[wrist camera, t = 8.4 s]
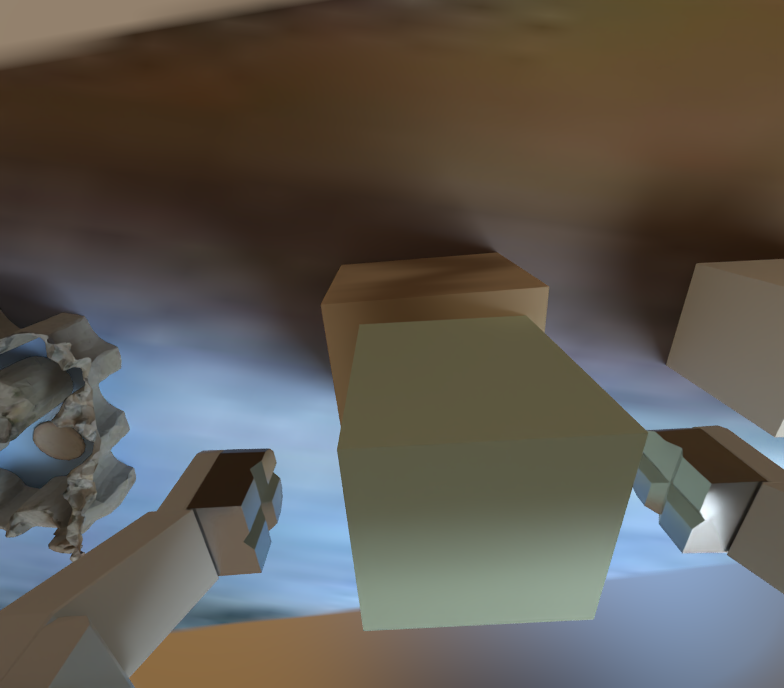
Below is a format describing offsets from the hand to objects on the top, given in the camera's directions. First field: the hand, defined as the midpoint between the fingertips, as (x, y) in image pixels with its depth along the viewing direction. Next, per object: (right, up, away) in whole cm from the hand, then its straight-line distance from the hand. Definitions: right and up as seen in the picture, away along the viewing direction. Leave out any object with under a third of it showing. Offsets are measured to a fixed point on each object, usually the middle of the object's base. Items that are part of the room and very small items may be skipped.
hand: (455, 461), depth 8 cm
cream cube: (+13, +4, +7) cm, 15 cm away
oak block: (0, +3, +7) cm, 8 cm away
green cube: (0, +1, +3) cm, 3 cm away
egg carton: (-17, 0, +9) cm, 19 cm away
